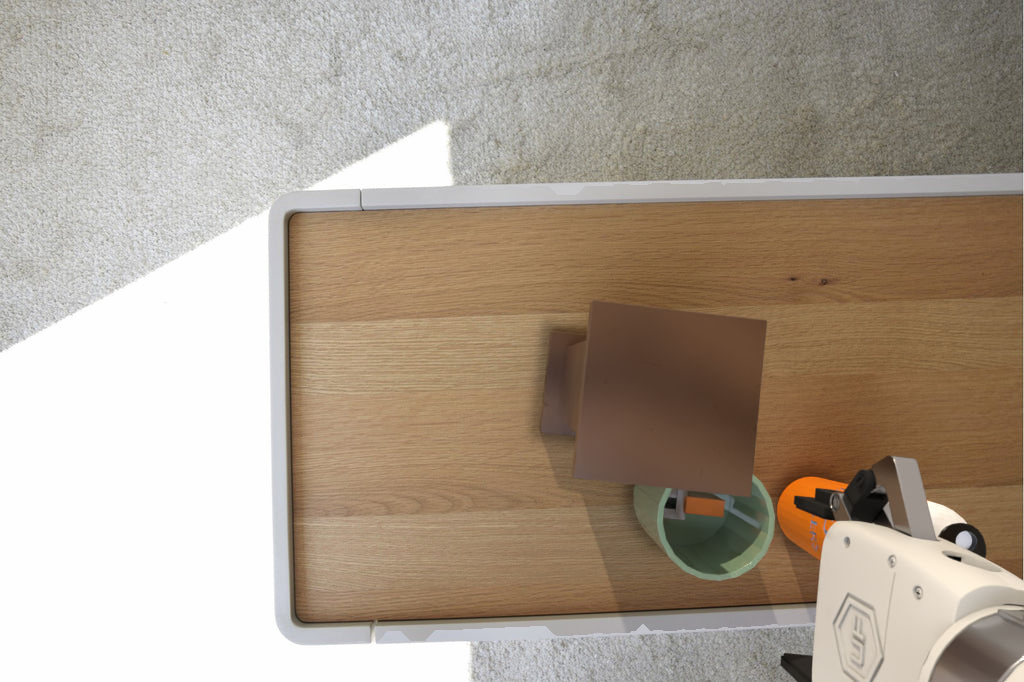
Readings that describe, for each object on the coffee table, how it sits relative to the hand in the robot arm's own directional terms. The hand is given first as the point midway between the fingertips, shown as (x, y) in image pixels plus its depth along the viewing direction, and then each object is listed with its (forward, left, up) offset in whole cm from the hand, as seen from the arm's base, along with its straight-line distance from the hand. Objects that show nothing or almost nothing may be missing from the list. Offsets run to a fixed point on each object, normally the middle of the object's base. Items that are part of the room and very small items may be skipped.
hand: (810, 581), depth 41 cm
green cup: (0, +1, -25) cm, 25 cm away
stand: (+10, +11, -25) cm, 29 cm away
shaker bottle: (0, -12, -25) cm, 28 cm away
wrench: (0, +1, -24) cm, 24 cm away
